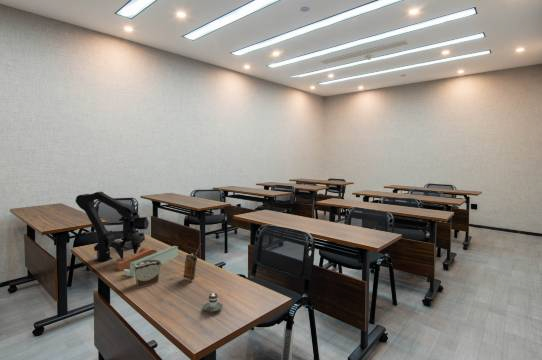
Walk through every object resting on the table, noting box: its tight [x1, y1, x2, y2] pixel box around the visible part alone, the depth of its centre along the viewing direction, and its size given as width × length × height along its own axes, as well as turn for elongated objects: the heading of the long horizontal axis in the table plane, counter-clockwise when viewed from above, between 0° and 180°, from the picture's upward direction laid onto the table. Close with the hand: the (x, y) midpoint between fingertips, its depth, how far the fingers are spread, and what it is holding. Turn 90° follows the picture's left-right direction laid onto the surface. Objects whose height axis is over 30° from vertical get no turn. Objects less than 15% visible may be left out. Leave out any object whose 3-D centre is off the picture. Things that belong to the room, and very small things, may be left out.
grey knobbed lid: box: [202, 292, 223, 312], centre depth 114 cm, size 12×12×5 cm
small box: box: [124, 231, 142, 250], centre depth 185 cm, size 11×6×10 cm, turn 52°
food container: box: [133, 259, 162, 289], centre depth 133 cm, size 12×6×10 cm, turn 134°
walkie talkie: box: [166, 243, 202, 281], centre depth 139 cm, size 13×13×18 cm
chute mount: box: [123, 245, 179, 278], centre depth 156 cm, size 7×32×7 cm, turn 159°
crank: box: [115, 246, 158, 272], centre depth 157 cm, size 20×8×8 cm, turn 137°
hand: (128, 256), depth 162 cm, fingers open, 9 cm apart
